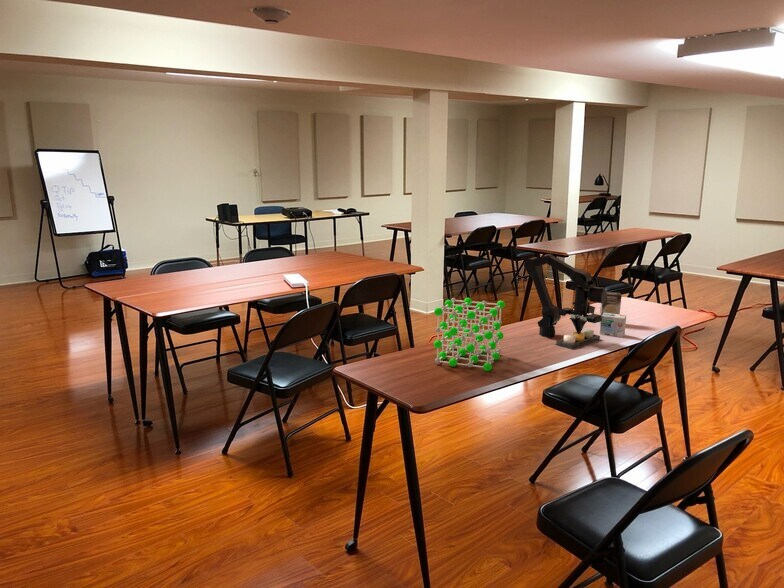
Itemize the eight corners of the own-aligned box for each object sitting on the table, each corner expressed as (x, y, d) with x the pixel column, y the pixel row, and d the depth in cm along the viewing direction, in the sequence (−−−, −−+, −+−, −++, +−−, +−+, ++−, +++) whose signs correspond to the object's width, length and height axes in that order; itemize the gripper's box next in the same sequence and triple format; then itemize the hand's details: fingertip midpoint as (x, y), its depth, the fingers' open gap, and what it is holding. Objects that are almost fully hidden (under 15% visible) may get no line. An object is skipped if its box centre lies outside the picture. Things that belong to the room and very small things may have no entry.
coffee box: (599, 324, 306) (602, 293, 302) (598, 321, 312) (601, 291, 308) (619, 325, 303) (621, 294, 300) (617, 322, 310) (620, 292, 306)
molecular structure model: (503, 354, 260) (506, 299, 255) (490, 373, 238) (492, 313, 232) (449, 347, 269) (451, 295, 264) (432, 365, 247) (433, 308, 241)
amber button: (570, 340, 272) (570, 333, 271) (576, 338, 275) (577, 331, 274) (579, 343, 268) (580, 335, 268) (586, 341, 271) (587, 333, 271)
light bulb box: (598, 337, 284) (600, 315, 282) (601, 333, 290) (603, 312, 288) (622, 340, 279) (624, 318, 277) (624, 336, 285) (626, 314, 283)
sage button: (579, 338, 276) (580, 330, 276) (585, 336, 280) (586, 328, 279) (589, 340, 273) (589, 332, 272) (595, 338, 276) (595, 330, 275)
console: (553, 347, 269) (553, 340, 268) (583, 338, 283) (583, 331, 282) (572, 353, 261) (573, 345, 261) (602, 343, 275) (602, 336, 275)
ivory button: (561, 343, 268) (561, 336, 267) (567, 341, 271) (568, 334, 270) (570, 346, 264) (571, 338, 263) (577, 344, 267) (577, 336, 266)
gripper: (610, 301, 265) (607, 335, 269) (574, 293, 280) (571, 326, 283) (595, 304, 259) (593, 339, 262) (559, 297, 273) (557, 330, 276)
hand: (578, 333), depth 271 cm, fingers closed, pressing on amber button
